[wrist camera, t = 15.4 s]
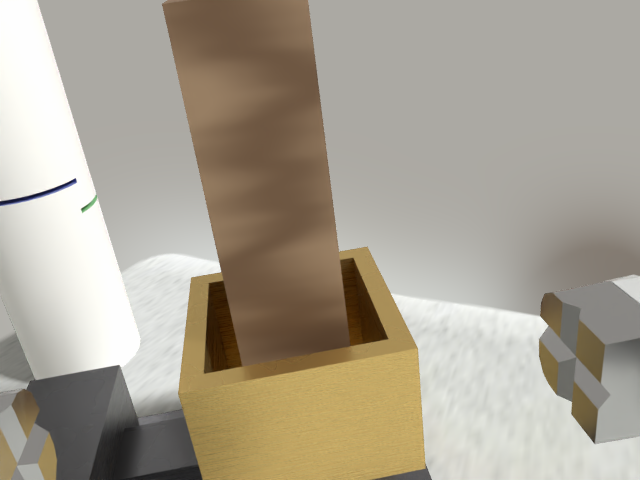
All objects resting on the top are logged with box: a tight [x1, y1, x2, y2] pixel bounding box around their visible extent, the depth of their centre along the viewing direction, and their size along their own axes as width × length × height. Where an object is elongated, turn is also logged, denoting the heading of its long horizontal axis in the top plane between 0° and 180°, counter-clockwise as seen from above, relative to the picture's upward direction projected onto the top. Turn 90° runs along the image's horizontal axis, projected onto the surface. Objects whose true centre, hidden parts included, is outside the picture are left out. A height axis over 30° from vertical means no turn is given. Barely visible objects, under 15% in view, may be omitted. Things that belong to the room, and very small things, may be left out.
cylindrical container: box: [0, 0, 141, 380], centre depth 36 cm, size 7×7×25 cm
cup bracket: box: [26, 247, 432, 480], centre depth 25 cm, size 18×14×10 cm
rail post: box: [162, 0, 350, 366], centre depth 22 cm, size 4×4×16 cm
